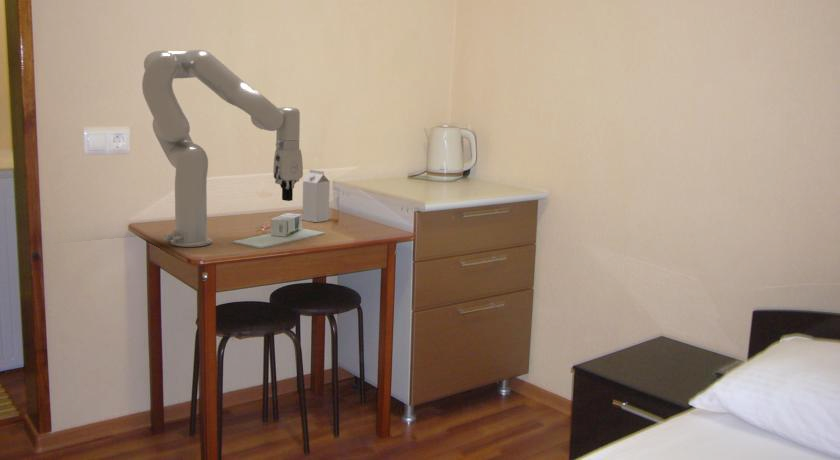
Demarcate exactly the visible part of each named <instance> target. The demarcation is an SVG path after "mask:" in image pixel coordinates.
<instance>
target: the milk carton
mask: <svg viewBox="0 0 840 460" xmlns="http://www.w3.org/2000/svg"><path fill="white" fill-rule="evenodd" d="M324 173H325V172H324V171H322V170H313V169H309V173H308V174H307V175H306V177H305V178H304V179H303V181H302V221H306V222H312V223H321V222H327V221H329V220H330V185H331V184H330V182H331V181H330V180H329V179H328V178H327V176H325V174H324Z"/></svg>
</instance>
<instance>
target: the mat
mask: <svg viewBox="0 0 840 460" xmlns="http://www.w3.org/2000/svg"><path fill="white" fill-rule="evenodd" d="M325 234H326V232H325V231H318V230H313V229H307V228H303V227H302V230H300V231H298V232H296V233H293V234H291V235H289V236H287V237H282V236H271V233H267V234H262V235H257V236H252V237H247V238H243V239H238V240H237V239H236V240H232V244H235V245H240V246H246V247H250V248H255V249H265V247H266V248H270V247H274V246H278V245H282V244H287V243H292V242H297V241H300V240H305V239H310V238H314V237H318V236H323V235H325Z"/></svg>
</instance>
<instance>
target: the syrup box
mask: <svg viewBox="0 0 840 460" xmlns="http://www.w3.org/2000/svg"><path fill="white" fill-rule="evenodd" d="M269 222H270V234H271V236H282V237H287V236H289V235H291V234H293V233H296V232H298V231H300V230H302V228H303V213H292V212H285V213H283V214H281V215H280V214H279V216H275V217H273V218H271V219H270V221H269Z"/></svg>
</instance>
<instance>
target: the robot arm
mask: <svg viewBox="0 0 840 460" xmlns="http://www.w3.org/2000/svg"><path fill="white" fill-rule="evenodd" d="M143 67H144V73H143V76H142V83H141V86H142V87H141V88H142V94H143V98H144V100H145V102H146V104H147V106H148V109H149V111H150V113H151V115H152V117H153V119H152V130H153V132H154V135H155V138H156V139H157V141H158V143H159V145H160V147H161V149H162V151H163V153H164V155H165V156H166V158H167V160H168V161H169V164H170V165H172V167H173V168H175V175H174V207H175V208H174V211H175V214H174V219H175V229H172V232H171V233H169V234H164V235H163V237H162V239H163V241H164V242H169V241H170V244H171V245H172V246H175V247H181V248H183V247H184V248H186V247H187V248H196V247H197V248H198V247H206V246H209V245H212V243H213V239H212V237H209V236H208V219H207V218H208V217H207V216H208V213H207V212H208V211H207V210H208V209H207V207H208V206H207V203H208V202H207V196H208V195H207V182H208V181H207V180H208V179H207V178H208V172H209V171H208V170H209V158H208V155H207V153H206V151H205V150H204V148H203V147H202V146H200V145H199V144H196V143H194V141H193V140H192V138H191V136H190V132H191V131H190V130H191V127H190V122H189V120H188V118H187V117H186V115H185V113H184V111H183V109H182V107H181V105H180V103H179V102H178V99H177V97H176V94H175V92H174V88H173V81H174V79H191V78H196V79H197V80H198V81H200V82H201V83H202V84H203V85H205V86H206V87H207V88H208V89H210V90H211V91H212V92H213V93H215V94H216V95H217V96H218V97H219V98H220V99H222V100H223V101H225V102H226V103H228V104H229V105H232V106H235V107H237V108H239V110H242V111H243V112H245V113H246V114H247V115H249V116H250V120H251V123H252V125H254V126H255V127H256V128H257V129H260V130H264V131H269V132H276V133H275V134H276V135H275V136H276V138H275V139H276V140H275V146H276V147H275V152H274V159H273V168H272V169H273V170H272V171H273V178H274V179H275V181H274V184H276V185H279V186H280V189H281V200H282V201H287V202H290V201H293V197H294V196H293V190H294V188H295V184H296V183H299V181H300V180H301V179H303V176H304V170H303V169H304V168H303V154H302V150H301V148H300V131H301V130H300V128H301V127H300V123H301V121H300V120H301V118H300V117H301V116H300V113H301V112H300V109H299V108H297V107H285V106H284V107H277V105H275V104H274V103H272V102H271V101H270V99H268V98H266V97H265V96H264V95H263V94H261V92H259V91H257V90H256V89H255V88H254V87H252V86H251V85H250V84H248V83H247V82H245V81H244V80H243V79H241V78H240V77H239V76H238V75H236V74H235V73H234V72H233V71H232V70H231V69H230V68H228V67H227V66H226V65H225V64H223V63H222V62H221V61H220V60H219V59H217V58H216V56H214V55H213V54H212V53H211V52H209V51H207V50H204V49H191V50H155V51H152V52H150V53H148V54H147V55H146V57H144V62H143Z"/></svg>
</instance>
